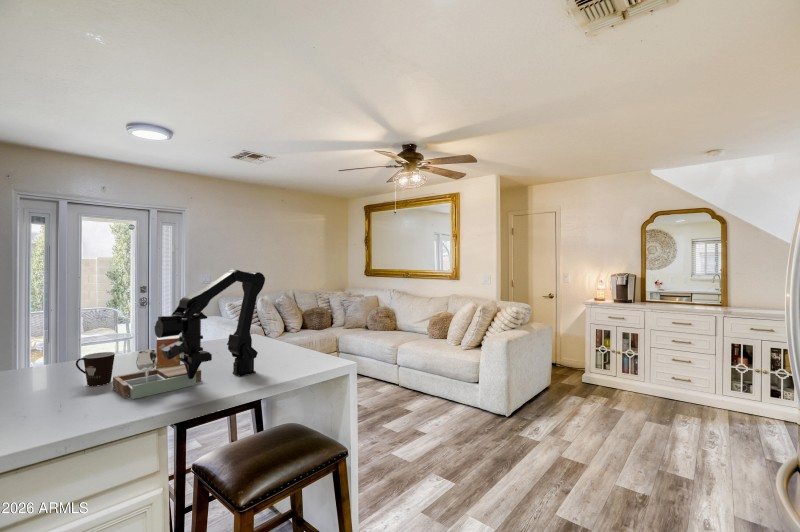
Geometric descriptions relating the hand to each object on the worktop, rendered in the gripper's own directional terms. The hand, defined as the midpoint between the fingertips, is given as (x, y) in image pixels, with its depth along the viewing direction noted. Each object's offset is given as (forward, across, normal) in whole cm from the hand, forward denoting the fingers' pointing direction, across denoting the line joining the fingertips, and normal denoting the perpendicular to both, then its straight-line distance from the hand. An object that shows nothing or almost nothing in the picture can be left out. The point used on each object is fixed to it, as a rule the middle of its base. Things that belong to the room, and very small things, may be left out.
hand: (191, 378), depth 126 cm
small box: (+3, -28, +2) cm, 29 cm away
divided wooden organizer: (+3, -11, -6) cm, 13 cm away
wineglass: (+2, -8, -11) cm, 13 cm away
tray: (+3, -7, -7) cm, 11 cm away
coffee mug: (+3, -30, -20) cm, 36 cm away
